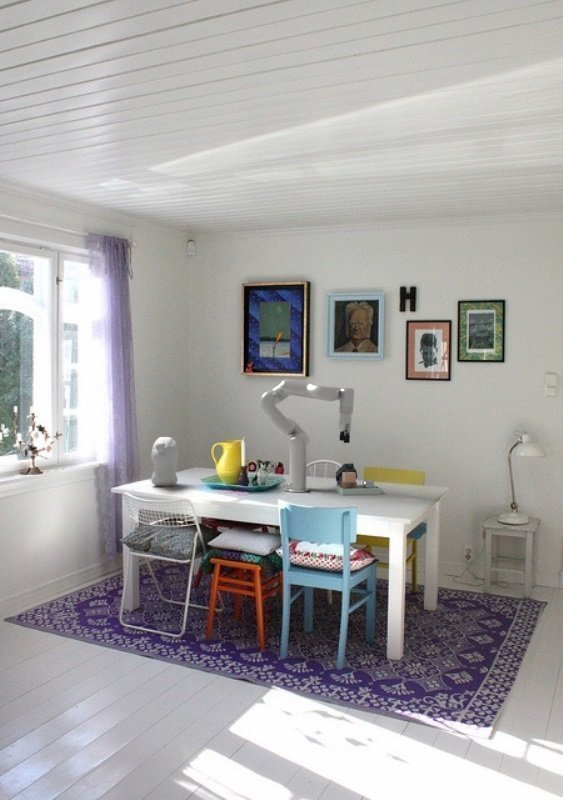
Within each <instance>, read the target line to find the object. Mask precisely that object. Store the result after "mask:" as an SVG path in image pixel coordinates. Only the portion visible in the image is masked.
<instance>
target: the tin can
mask: <svg viewBox="0 0 563 800" xmlns="http://www.w3.org/2000/svg"><path fill="white" fill-rule="evenodd" d="M362 485H363V488H374V485H375V481H374V480H363V481H362Z"/></svg>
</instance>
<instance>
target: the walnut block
mask: <svg viewBox="0 0 563 800" xmlns="http://www.w3.org/2000/svg"><path fill="white" fill-rule="evenodd" d="M357 485H358V482H356V483H344V482H343V481H341V488H343V489H357Z"/></svg>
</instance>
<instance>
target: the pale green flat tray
mask: <svg viewBox="0 0 563 800" xmlns="http://www.w3.org/2000/svg"><path fill="white" fill-rule="evenodd" d="M335 486H336V488H335V491H336V493H338V494H340V495H341V496H361V495H363V496H366V495H374V496H375V495H382V487H380V486H378V485H377V484H374V488H363V484H357V489H343V488H341V485H337V484H336V485H335Z"/></svg>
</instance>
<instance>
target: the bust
mask: <svg viewBox="0 0 563 800" xmlns="http://www.w3.org/2000/svg"><path fill="white" fill-rule="evenodd" d="M151 448H152V450H151V455H150V459H151V462H152V463H153V473H152V475H151V483H152V485H155V487H156V486H157V487H173V486H176V485H177V483H178V479H179V478H178V476H177V473H176V472H177V469H178V459H179V458H178V457H179V450H178V442H177V441H175V440H174V438H173V437H169V436H161V437H158V438H157V439H156V440H155V442H154V443H153V445H152V447H151Z"/></svg>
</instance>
